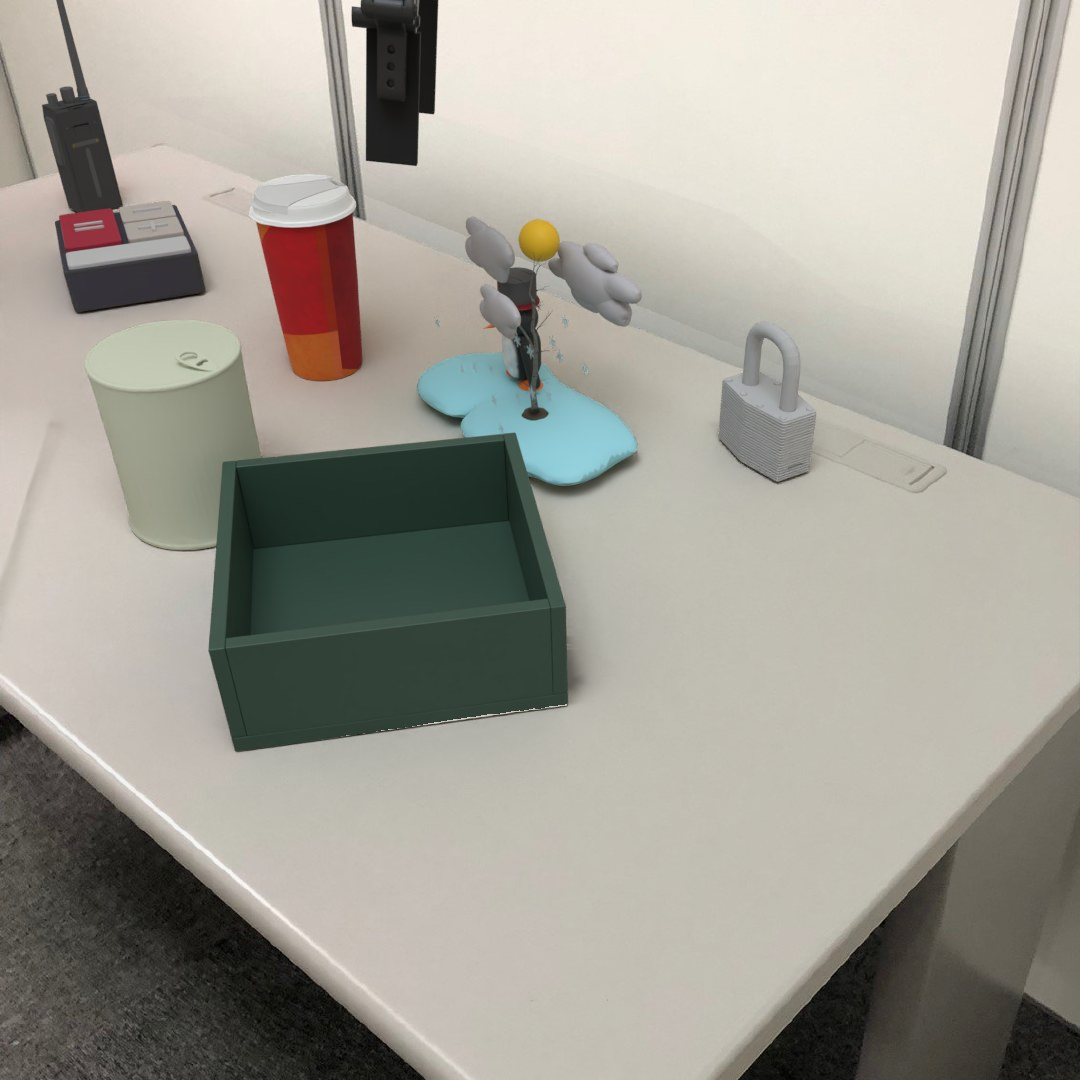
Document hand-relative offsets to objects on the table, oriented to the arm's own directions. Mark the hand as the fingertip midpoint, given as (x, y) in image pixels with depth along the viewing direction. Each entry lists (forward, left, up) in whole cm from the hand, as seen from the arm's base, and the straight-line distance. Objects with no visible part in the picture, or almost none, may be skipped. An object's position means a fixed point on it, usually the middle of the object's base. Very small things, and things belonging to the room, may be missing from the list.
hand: (403, 135), depth 71 cm
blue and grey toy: (+7, +4, -23) cm, 24 cm away
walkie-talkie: (-29, +56, -23) cm, 67 cm away
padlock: (+23, -3, -23) cm, 32 cm away
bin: (-4, -17, -23) cm, 29 cm away
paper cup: (-7, +17, -23) cm, 29 cm away
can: (-16, -3, -23) cm, 28 cm away
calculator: (-24, +38, -23) cm, 51 cm away
